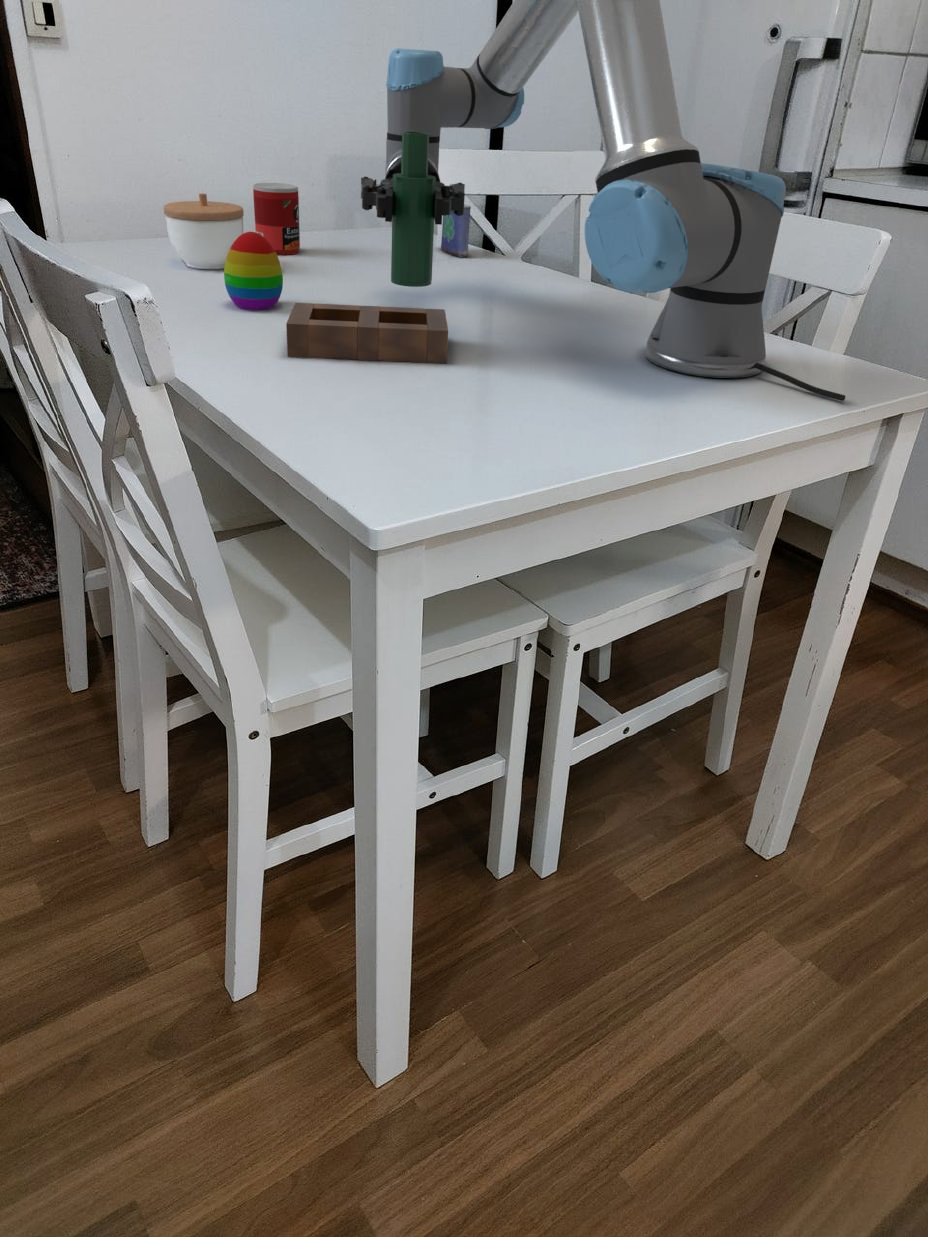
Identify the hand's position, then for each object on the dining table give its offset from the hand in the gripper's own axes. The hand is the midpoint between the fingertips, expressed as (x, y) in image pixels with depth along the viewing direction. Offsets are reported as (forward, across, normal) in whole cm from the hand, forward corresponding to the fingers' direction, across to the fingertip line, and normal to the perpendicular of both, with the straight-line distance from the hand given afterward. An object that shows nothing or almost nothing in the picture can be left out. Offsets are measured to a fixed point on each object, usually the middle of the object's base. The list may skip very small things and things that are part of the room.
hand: (413, 210), depth 106 cm
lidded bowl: (-52, +34, -18) cm, 64 cm away
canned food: (-67, +24, -18) cm, 74 cm away
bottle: (-5, 0, -9) cm, 10 cm away
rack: (-5, +5, -17) cm, 19 cm away
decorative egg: (-25, +22, -18) cm, 38 cm away
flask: (-74, -9, -18) cm, 77 cm away
